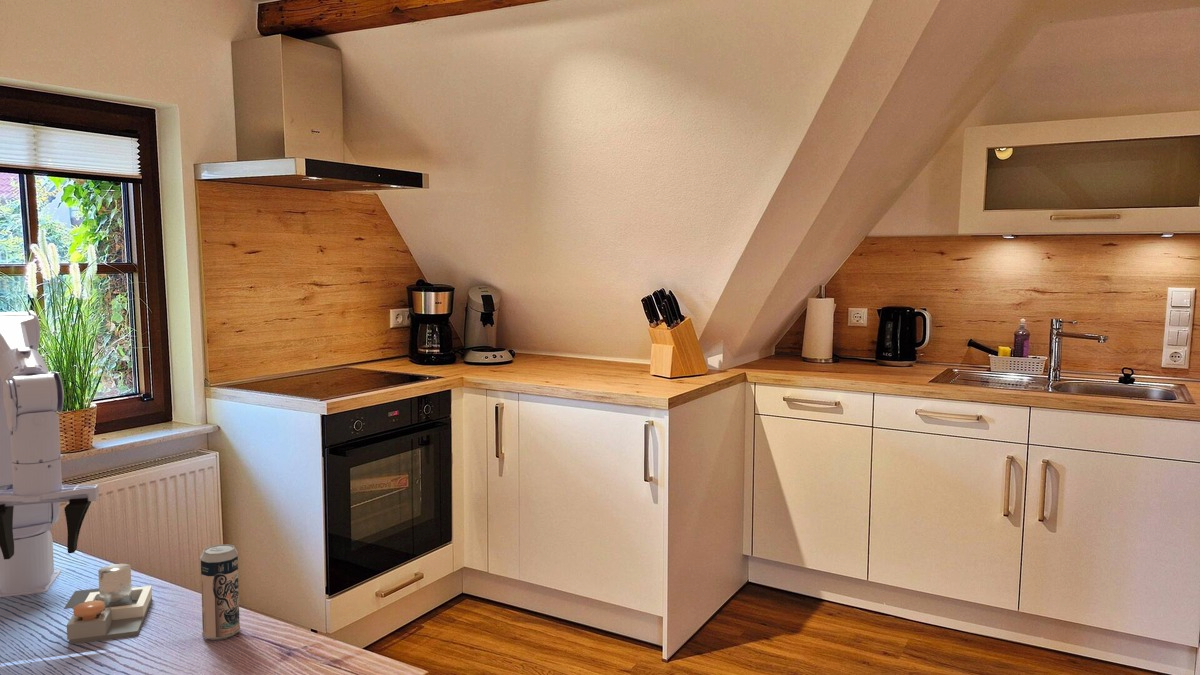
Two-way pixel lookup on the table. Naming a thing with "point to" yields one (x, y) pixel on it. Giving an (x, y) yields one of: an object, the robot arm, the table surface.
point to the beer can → (220, 592)
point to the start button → (89, 609)
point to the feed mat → (79, 597)
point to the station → (111, 619)
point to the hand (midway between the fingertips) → (41, 554)
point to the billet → (115, 585)
